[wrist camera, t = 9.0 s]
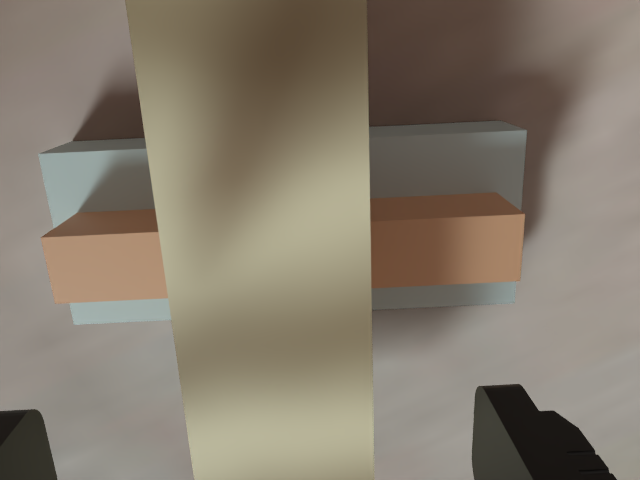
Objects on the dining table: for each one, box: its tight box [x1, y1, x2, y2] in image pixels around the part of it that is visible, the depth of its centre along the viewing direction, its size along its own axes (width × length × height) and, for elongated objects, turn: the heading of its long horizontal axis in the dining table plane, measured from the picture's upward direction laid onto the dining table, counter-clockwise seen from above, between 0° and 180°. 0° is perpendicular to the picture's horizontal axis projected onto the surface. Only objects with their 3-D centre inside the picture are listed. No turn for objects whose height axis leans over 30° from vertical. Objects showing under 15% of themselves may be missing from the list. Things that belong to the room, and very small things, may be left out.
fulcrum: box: [38, 121, 527, 325], centre depth 22 cm, size 18×7×6 cm, turn 93°
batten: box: [125, 0, 374, 480], centre depth 16 cm, size 22×5×5 cm, turn 2°
